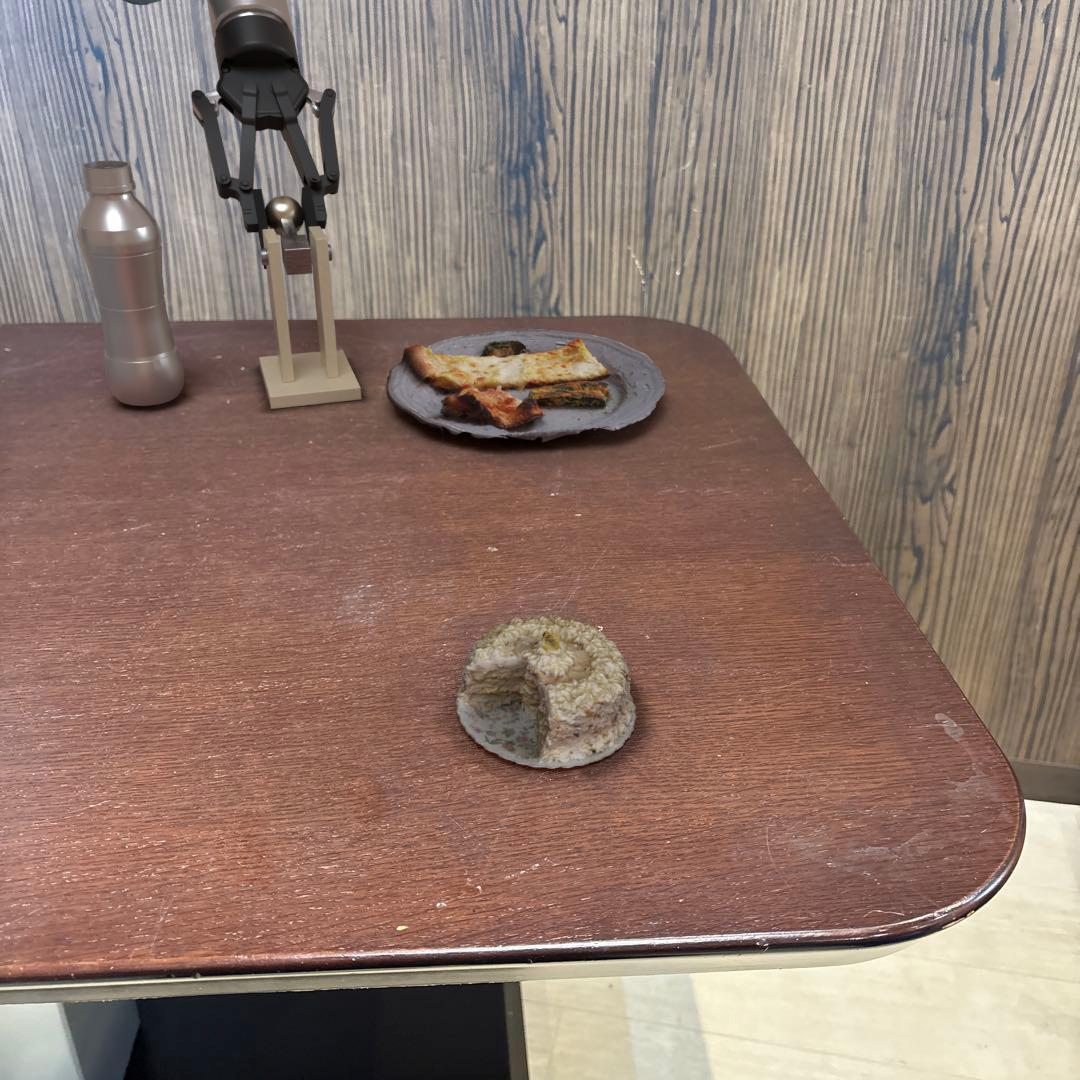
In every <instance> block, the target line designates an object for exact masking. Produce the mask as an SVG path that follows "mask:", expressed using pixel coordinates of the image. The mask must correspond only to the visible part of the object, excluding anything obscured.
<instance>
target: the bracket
mask: <svg viewBox="0 0 1080 1080" xmlns="http://www.w3.org/2000/svg"><path fill="white" fill-rule="evenodd" d="M262 232H263V241H264V248H259V255H260V256H259V257H260V262H261V266H263V265H266V267H267V269H266V275H267V283H268V292H269V300H270V301H269V302H270V309H271V317H272V318H271V319H272V326H273V327H272V328H273V335H274V343H275V350H276V351H275V352H276V353H275V354H276V355H268V356H259V357H258V362H259V369H260V373H261V376H262V380H263V384H264V387H265V392H266V395H267V399H268V402H269V406H270V409H271V410H275V409H276V410H277V409H286V408H294V407H303V406H312V405H313V406H315V405H322V404H332V403H341V402H350V401H351V402H352V401H361V400H362V387H361V385H360V383H359V381H358V379H357V377H356V375H355V372H354V371H353V369H352V366H351V365H350V362H349V360H348V358H347V356H346V354H345V351H344V350H343V349H338V348H337V339H336V327H335V325H336V324H335V314H334V313H335V312H334V303H333V289H332V288H333V287H332V278H331V267H330V266H331V265H330V262H332V261H333V250H332V246H331V244H329V242H328V241H329V240H328V237H327V236H326V234H325V233H324V231H323V229H321V227H320V226H314V227H309V236H310V247H311V258H312V277H313V289H314V300H315V301H314V302H315V310H316V311H315V312H316V321H317V332H318V333H317V334H318V341H319V342H318V343H319V351H312V352H311V351H310V352H302V353H292V346H291V337H290V335H291V334H290V327H289V317H288V308H287V299H286V289H285V282H284V280H285V279H284V271H283V260H282V251H281V242H280V240H279V238H278V235H277V234H276V233H275V231H274V229H269V228H268V229H263V230H262Z"/></svg>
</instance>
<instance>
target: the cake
mask: <svg viewBox="0 0 1080 1080" xmlns="http://www.w3.org/2000/svg"><path fill="white" fill-rule="evenodd" d="M629 675H630V669H629V667H628V664H627V661H626V659H625V656H624V655H623V654H622V653H621V652H620V650H619V649H618V647H617V645H616V644H615V643H614V642H613V641H612V640H609V639H607V637H606V636H605V635H604V633H603V632H602V631H600V630H599V629H598V627H597V628H596V627H593V626H591V625H590V624H585V623H583V622H580V621H575V620H573V619H572V618H571V619H563V617H562V618H561V616H559V617H557V618H555V617H554V616H553V614H552V613H549V615H548V616H543V615H540V616H530V615H528V616H527V617H526V618H520V617H517V616H515V617H514V618H512V619H510V620H509V621H506V623H505V624H504V623H498V625H494V626H493V627H492V629H491V630H488V632H487V633H482V634H481V638H480V640H476V641H474V642H473V644H472V648H470V652H469V653H468V654H467V657H466V659H465V666H464V668H463V669H462V673H461V681H460V685H459V687H458V689H457V690H456V697H455V699H454V703H455V705H456V709H455V713H456V715H457V716H458V717H459V723H460V725H461V726H462V727H463V728H464V731H465V732H466V734H467V735H469V736H470V737H471V738H472V739H473V740H474V742H475V743H477V744H478V745H480V746H481V747H482V746H483V748H484V749H485V750H486V751H488V752H490V753H493V754H496V755H498V757H499V758H502V759H504V760H508V761H511V762H513V763H514V762H515V763H516V764H518V765H523V766H528V767H531V768H538V769H539V768H547V769H555V770H556V769H558V768H563V769H564V768H565V769H570V768H574V767H577V766H579V767H580V766H585V765H588V764H590V763H594V762H598V761H601V760H603V759H604V758H606V757H609V756H611V755H614V753H615V751H617V750H619V749H621V748H623V747H624V744H625V743H626V741H627V740H628V739H629V738H631V735H632V733H633V731H634V730H635V725H636V720H637V714H636V709H637V706H636V704H635V703H634V698H633V697H632V695H631V693H630V691H631V683H632V682H631V681H632V679H631V677H629Z"/></svg>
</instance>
